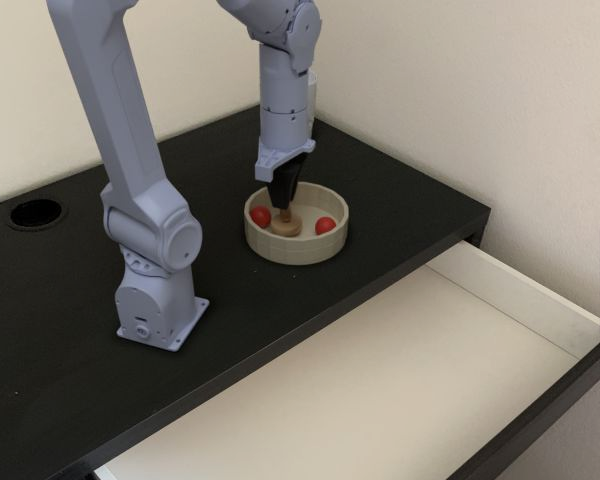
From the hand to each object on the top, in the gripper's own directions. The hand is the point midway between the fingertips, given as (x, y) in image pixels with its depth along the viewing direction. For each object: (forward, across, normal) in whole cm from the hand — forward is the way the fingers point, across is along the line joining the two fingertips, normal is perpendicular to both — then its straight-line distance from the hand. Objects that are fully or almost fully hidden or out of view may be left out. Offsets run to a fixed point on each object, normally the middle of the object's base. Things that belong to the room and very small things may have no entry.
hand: (283, 203), depth 90 cm
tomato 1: (+3, 0, +3) cm, 4 cm away
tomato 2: (+3, +1, -6) cm, 7 cm away
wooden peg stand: (+4, 0, 0) cm, 4 cm away
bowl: (+5, +1, -2) cm, 5 cm away
